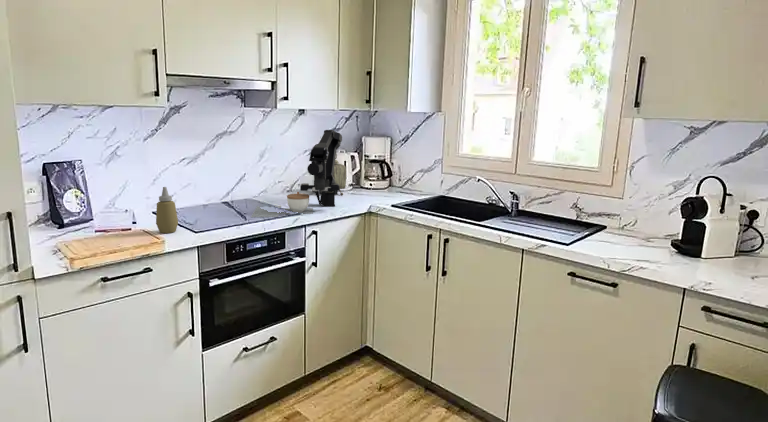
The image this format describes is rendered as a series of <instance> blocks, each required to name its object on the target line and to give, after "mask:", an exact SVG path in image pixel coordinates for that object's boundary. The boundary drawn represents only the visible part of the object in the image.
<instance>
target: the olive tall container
mask: <svg viewBox="0 0 768 422" xmlns="http://www.w3.org/2000/svg"><path fill="white" fill-rule="evenodd" d="M337 157H338V154H337V152H336V158H335V166H334V174H333V177H334V179H335V181H336V183H338V184H339V191H338V192H339V193H340V195H341V196H343V195H344V192H342V189H343V190H344V189H346V186H347V170H346V169H347V168H346V166H345V165H344V164H342V163H339V161H338V160H337V159H338V158H337ZM333 192H334V191H333Z"/></svg>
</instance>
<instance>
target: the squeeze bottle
mask: <svg viewBox="0 0 768 422" xmlns="http://www.w3.org/2000/svg"><path fill="white" fill-rule="evenodd" d="M155 217H156V218H155V219H156V221H155V224H156V227H157V229H158V231H159V233H161V234H171V233H175V232H176V231H177V229H178V225H179V219H178V213H177V209H176V202H175V201H173V196H172V195H170V194H169V192H168V189H167V186H163V187H162V191H161V195H159V196H158V202H157V203H156V216H155Z"/></svg>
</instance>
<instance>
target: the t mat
mask: <svg viewBox="0 0 768 422" xmlns="http://www.w3.org/2000/svg"><path fill="white" fill-rule="evenodd" d="M259 206H260V205H257V206H256V207H255V209H254V210H253V212H252V214H251V216H250V218H278V217H279V215H290V214H289V213H286V212H285V213H284V212H281V213H280V212H279V213H277V212H268V211H267V210H264V209H261V208H260V207H259ZM274 206H275V207H278V208H282V206H281V205H274ZM282 209H285V210H288V211H292V210H291V209H290V208H289V207H288V208H284V207H283V208H282ZM292 212H293V211H292ZM298 213H303V214H302V215H313V214H314V208H313V207H312V208H311V207H307V208H306V209H305V211H304V212H298Z"/></svg>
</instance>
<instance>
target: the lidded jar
mask: <svg viewBox="0 0 768 422" xmlns="http://www.w3.org/2000/svg"><path fill="white" fill-rule="evenodd" d="M286 199H287V200H286V201H287V202H286V203H287V206H288V208H290V209H291V210H292V211H293V212H304V211H305V209H306V208H309V207H308V206H309V203H310V194H308V193H300V191H297V192H296V193H290V194H287V195H286Z"/></svg>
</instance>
